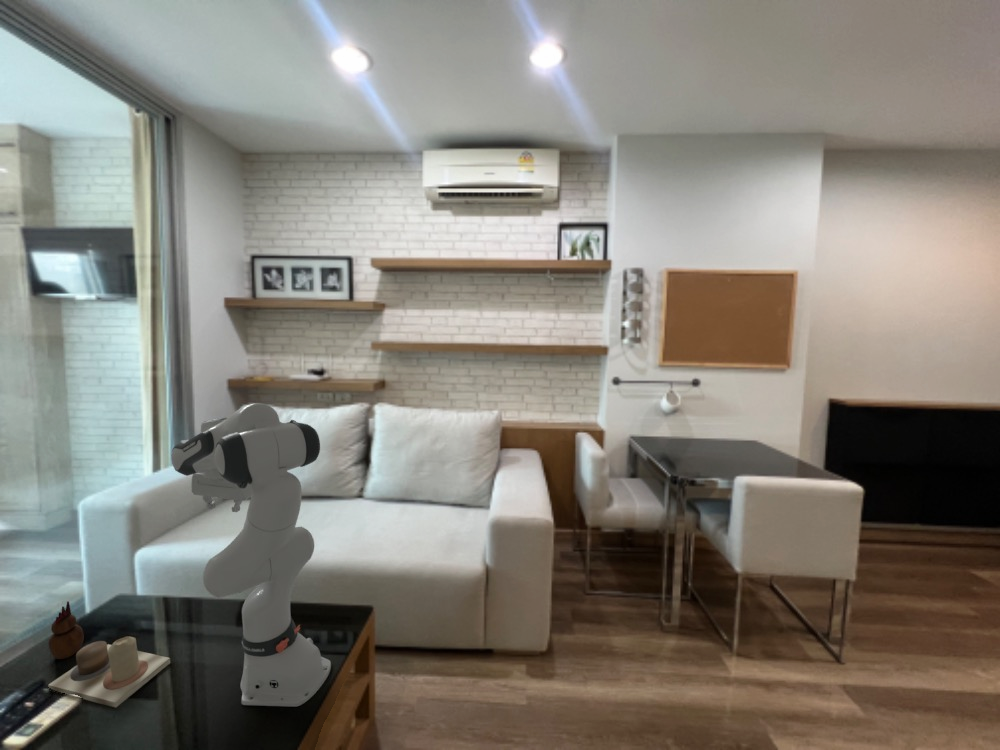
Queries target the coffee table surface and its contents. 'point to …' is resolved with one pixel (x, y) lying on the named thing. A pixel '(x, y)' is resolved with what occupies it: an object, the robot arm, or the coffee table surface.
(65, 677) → the board
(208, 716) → the coffee table surface
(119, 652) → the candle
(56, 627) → the wooden figurine
